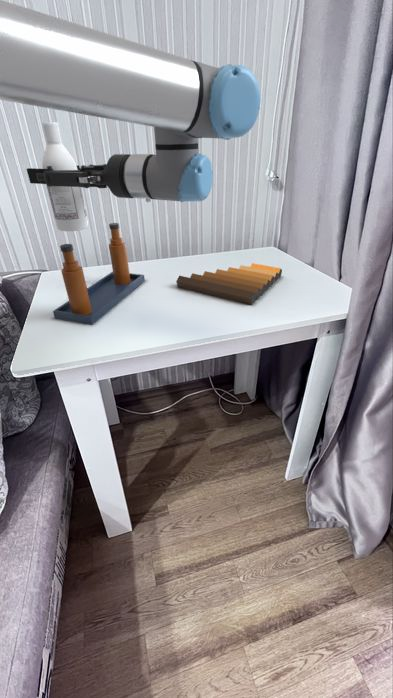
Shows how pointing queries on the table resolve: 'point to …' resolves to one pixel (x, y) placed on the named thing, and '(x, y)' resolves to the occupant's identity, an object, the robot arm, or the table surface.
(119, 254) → the amber bottle far
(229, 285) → the pan flute
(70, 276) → the amber bottle near
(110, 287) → the tray
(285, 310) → the table surface
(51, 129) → the bath foam
